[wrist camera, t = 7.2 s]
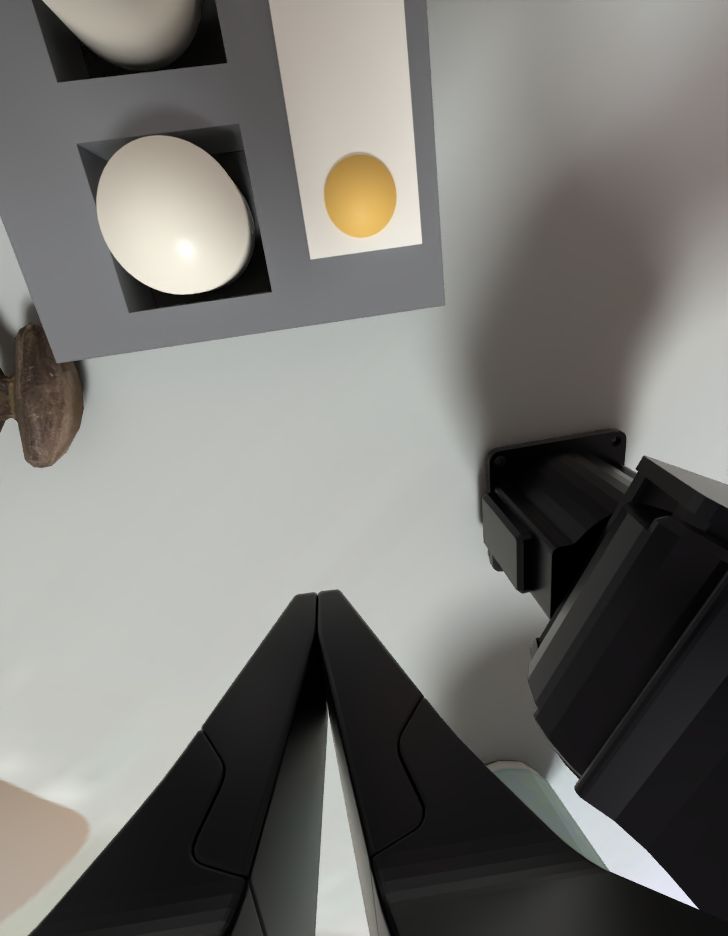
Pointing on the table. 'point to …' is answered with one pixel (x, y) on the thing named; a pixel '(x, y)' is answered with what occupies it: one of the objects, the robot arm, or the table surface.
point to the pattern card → (350, 122)
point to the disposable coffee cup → (544, 805)
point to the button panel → (215, 131)
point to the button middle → (132, 29)
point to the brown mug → (41, 398)
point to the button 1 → (174, 216)
